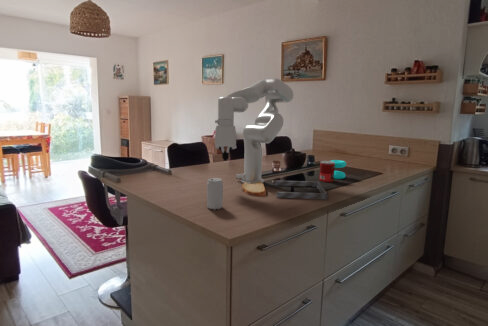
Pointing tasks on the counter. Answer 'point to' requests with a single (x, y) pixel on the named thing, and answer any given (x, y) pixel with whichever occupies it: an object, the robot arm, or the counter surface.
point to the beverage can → (214, 193)
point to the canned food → (327, 171)
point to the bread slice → (254, 189)
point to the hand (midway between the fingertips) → (225, 160)
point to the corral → (320, 195)
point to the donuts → (339, 165)
